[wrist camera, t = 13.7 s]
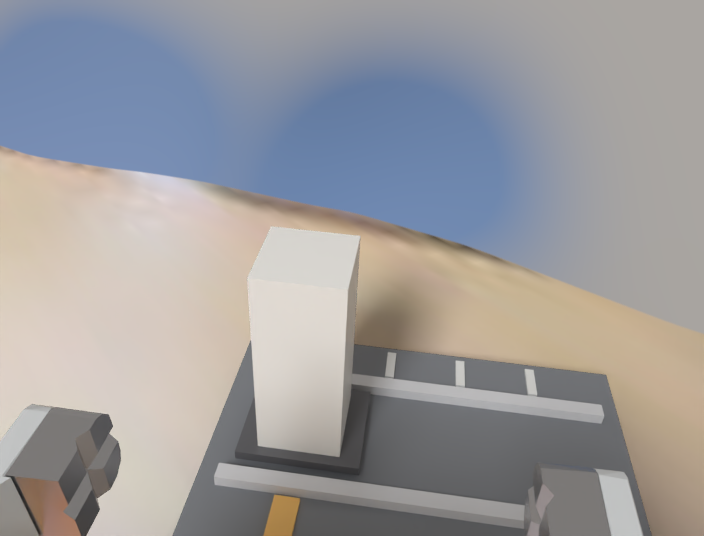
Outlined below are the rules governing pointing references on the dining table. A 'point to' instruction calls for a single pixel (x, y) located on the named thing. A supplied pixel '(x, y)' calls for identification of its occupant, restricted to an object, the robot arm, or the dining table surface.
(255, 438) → the fader knob
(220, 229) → the dining table surface
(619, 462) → the console
